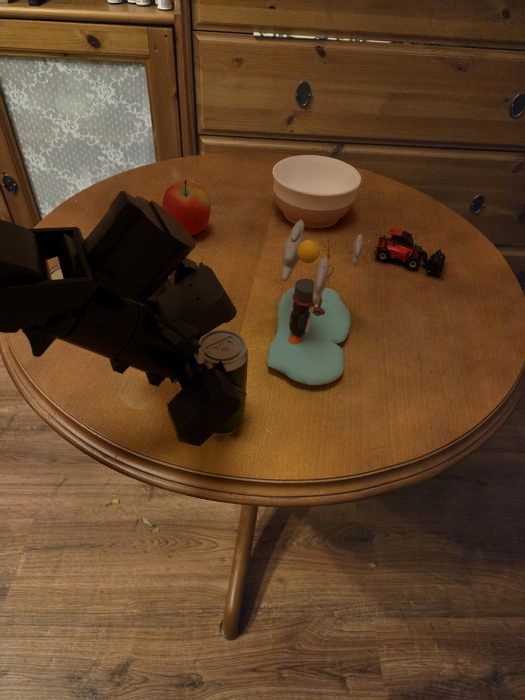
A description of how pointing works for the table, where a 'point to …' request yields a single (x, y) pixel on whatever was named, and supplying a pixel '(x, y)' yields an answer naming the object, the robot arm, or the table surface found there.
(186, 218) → the apple
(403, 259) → the loader
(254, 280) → the table surface
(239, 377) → the beer can
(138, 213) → the robot arm
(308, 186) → the bowl
